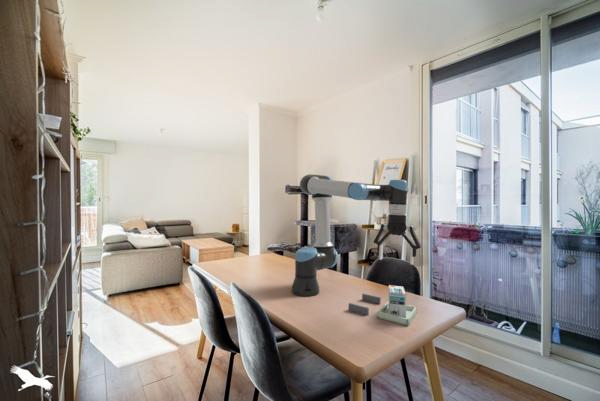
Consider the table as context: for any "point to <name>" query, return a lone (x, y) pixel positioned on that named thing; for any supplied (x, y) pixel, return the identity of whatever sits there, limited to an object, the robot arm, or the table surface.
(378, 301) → the grey bars
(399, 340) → the table surface
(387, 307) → the tray
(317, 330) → the table surface
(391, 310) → the light bulb box
